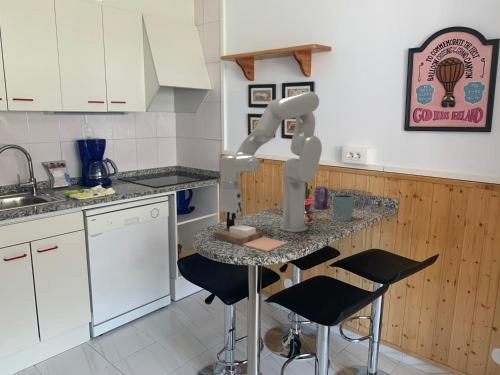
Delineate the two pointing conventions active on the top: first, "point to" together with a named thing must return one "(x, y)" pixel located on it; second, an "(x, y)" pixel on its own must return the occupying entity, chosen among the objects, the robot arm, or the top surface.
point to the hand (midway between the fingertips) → (230, 227)
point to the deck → (235, 236)
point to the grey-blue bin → (343, 207)
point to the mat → (265, 244)
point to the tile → (242, 230)
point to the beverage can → (321, 197)
